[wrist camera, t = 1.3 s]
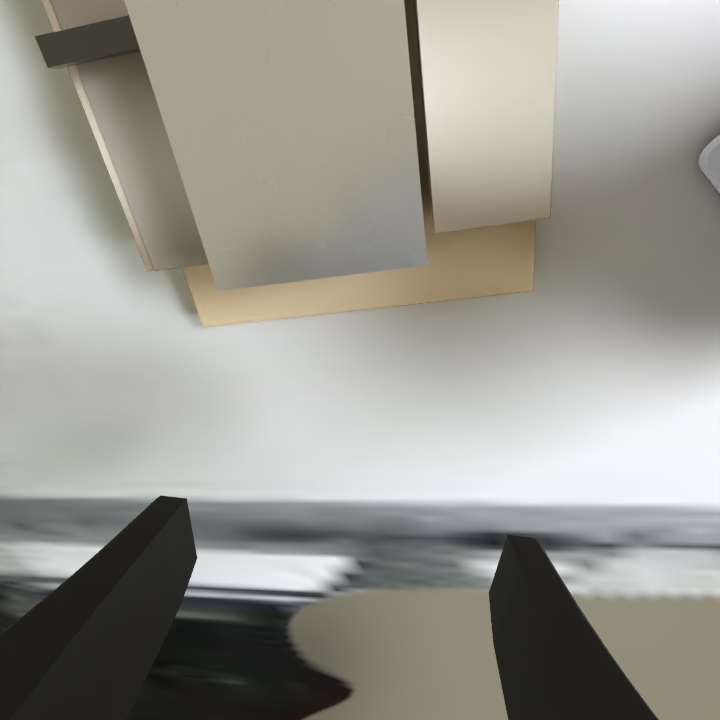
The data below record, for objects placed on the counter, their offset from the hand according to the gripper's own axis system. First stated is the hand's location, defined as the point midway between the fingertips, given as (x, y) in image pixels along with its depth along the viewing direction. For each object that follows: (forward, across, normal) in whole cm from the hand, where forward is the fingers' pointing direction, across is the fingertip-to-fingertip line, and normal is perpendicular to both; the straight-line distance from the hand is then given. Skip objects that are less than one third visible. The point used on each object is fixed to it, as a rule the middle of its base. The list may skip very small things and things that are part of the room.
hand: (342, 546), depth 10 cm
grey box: (+8, +3, -8) cm, 12 cm away
